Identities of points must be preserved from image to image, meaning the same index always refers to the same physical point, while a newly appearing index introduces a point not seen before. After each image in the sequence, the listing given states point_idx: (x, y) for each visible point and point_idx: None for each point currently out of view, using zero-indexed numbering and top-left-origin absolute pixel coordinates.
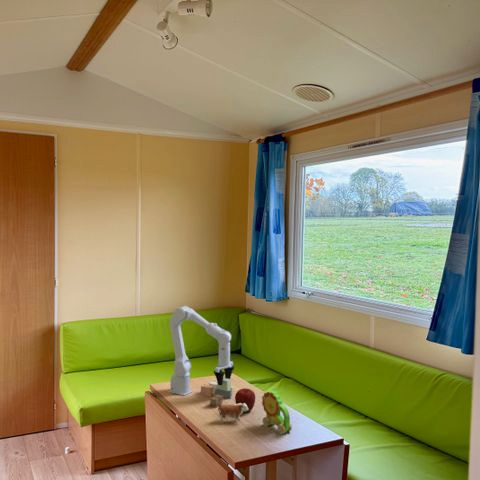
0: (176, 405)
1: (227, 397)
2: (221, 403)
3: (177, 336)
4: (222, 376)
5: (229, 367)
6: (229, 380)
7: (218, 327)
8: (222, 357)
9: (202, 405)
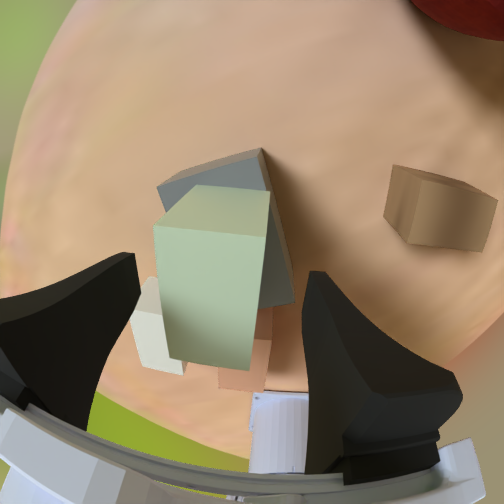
0: (446, 361)
1: (267, 174)
2: (411, 169)
3: None
4: (391, 347)
5: (153, 486)
6: (200, 227)
7: None
8: None
9: (444, 273)
